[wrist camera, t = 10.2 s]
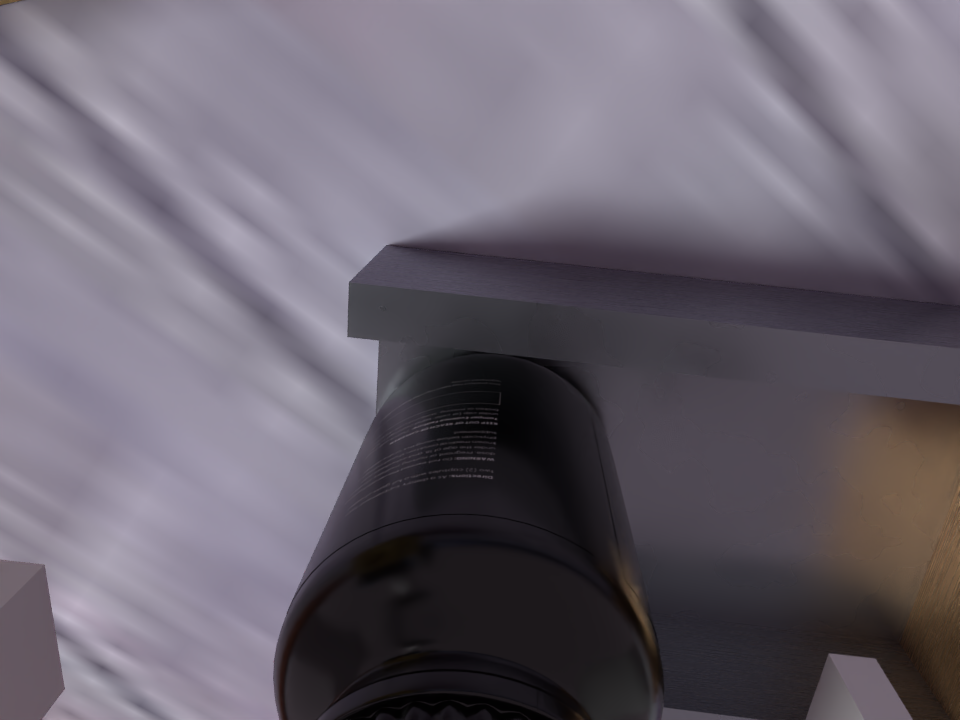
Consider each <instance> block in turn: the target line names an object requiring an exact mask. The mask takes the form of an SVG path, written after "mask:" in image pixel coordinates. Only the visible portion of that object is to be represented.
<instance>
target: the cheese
mask: <svg viewBox="0 0 960 720" xmlns="http://www.w3.org/2000/svg"><path fill="white" fill-rule="evenodd" d="M17 1H21V0H0V5H2V4H7V3H12V2H17Z"/></svg>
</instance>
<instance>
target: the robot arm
mask: <svg viewBox="0 0 960 720" xmlns="http://www.w3.org/2000/svg"><path fill="white" fill-rule="evenodd" d="M64 689H65V687H64V681H63V675H62V669H61V663H60V657H59V651H58V644H57V638H56V632H55V626H54V620H53V614H52V608H51V602H50V595H49V589H48V583H47V577H46V571H45V565H43V564H34V563H25V562H16V561H7V560H0V720H42V718H43V717H44V716H45V714H46V713H47V712H48V710H49V709H50V708H51V706H52V705H53V704H54V702H55V701H56V700H57V698H58V697H59V696H60V694H61V693H62V692H63V690H64ZM806 720H913V719H912V717H911V716H910V714H909V712H908V711H907V709H906V708H905V706H904V704H903V703H902V701H901V699H900V698H899V696H898V694H897V693H896V691H895V690H894V688H893V686H892V685H891V683H890V681H889V680H888V678H887V677H886V675H885V673H884V672H883V670H882V668H881V667H880V665H879V663H878V662H877V660H876V659H875V658H866V657H857V656H848V655H839V654H830V653H829V654H828V657H827V660H826V662H825V665H824V668H823V671H822V674H821V677H820V680H819V682H818V685H817V688H816V691H815V694H814V697H813V700H812V702H811V705H810V708H809V711H808V714H807V717H806Z"/></svg>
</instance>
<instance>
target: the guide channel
mask: <svg viewBox="0 0 960 720" xmlns="http://www.w3.org/2000/svg"><path fill="white" fill-rule="evenodd" d="M347 337H353V338H362V339H371V340H379V357H378V379H377V401H376V415H377V413H378V411H379V410H380V408H381V407H382V405H383V404H384V403H385V401H386V400H387V399H388V397H389V396H390V395H391V394H392V393H393V392H394V391H395V389H396V388H397V387H399V386H400V385H401V384H402V383H403V382H404V381H405V380H407V379H408V378H410V377H411V376H413V375H414V374H415V373H417V372H419V371H421V370H422V369H424V368H426V367H428V366H430V365H433V364H435V363H437V362H440V361H443V360H446V359H449V358H453V357H458V356H462V355H470V354H486V353H487V354H502V355H508V356H514V357H518V358H522V359H525V360H528V361H531V362H534V363H537V364H539V365H541V366H543V367H545V368H548V369H549V370H551V371H553V372H555V373H556V374H558V375H559V376H561V377H562V378H564V379H565V380H566V381H568V382H569V383H570V384H571V385H573V386H574V387H575V388H576V389H577V390H578V391H579V392H580V393H581V394H582V395H583V396H584V397H585V398H586V399H587V401H588V402H589V403H590V405H591V406H592V407H593V409H594V410H595V412H596V414H597V415H598V417H599V419H600V421H601V423H602V425H603V427H604V430H605V432H606V435H607V438H608V441H609V444H610V447H611V451H612V455H613V458H614V462H615V466H616V470H617V474H618V478H619V482H620V486H621V490H622V495H623V499H624V503H625V507H626V511H627V515H628V519H629V523H630V527H631V532H632V536H633V540H634V544H635V548H636V552H637V556H638V560H639V564H640V569H641V573H642V577H643V581H644V585H645V589H646V593H647V597H648V601H649V606H650V610H651V614H652V618H653V622H654V626H655V630H656V635H657V639H658V644H659V649H660V655H661V660H662V666H663V674H664V685H665V689H664V707H663V713H662V719H661V720H806V717H807V714H808V711H809V708H810V705H811V702H812V700H813V697H814V694H815V691H816V688H817V685H818V682H819V680H820V677H821V674H822V671H823V668H824V665H825V662H826V660H827V657H828V654H829V653H830V654H839V655H848V656H857V657H866V658H875V659H876V660H877V662H878V663H879V665H880V667H881V668H882V670H883V672H884V673H885V675H886V677H887V678H888V680H889V681H890V683H891V685H892V686H893V688H894V690H895V691H896V693H897V694H898V696H899V698H900V699H901V701H902V703H903V704H904V706H905V708H906V709H907V711H908V712H909V714H910V716H911V717H912V719H913V720H960V306H952V305H943V304H933V303H924V302H914V301H905V300H896V299H886V298H877V297H868V296H858V295H849V294H839V293H830V292H821V291H811V290H802V289H792V288H783V287H774V286H764V285H755V284H745V283H736V282H727V281H717V280H708V279H699V278H689V277H680V276H670V275H661V274H652V273H642V272H633V271H623V270H614V269H605V268H595V267H586V266H577V265H567V264H558V263H548V262H539V261H530V260H520V259H511V258H501V257H492V256H483V255H473V254H464V253H454V252H445V251H436V250H426V249H417V248H408V247H398V246H389V245H386V246H385V247H384V248H383V249H382V250H381V251H380V252H379V253H378V254H377V255H376V256H375V257H374V258H373V259H372V260H371V261H370V262H369V263H368V264H367V265H366V266H365V267H364V268H363V269H362V270H361V271H360V272H359V273H358V274H357V275H356V276H355V277H354V278H353V279H352V280H351V281H350V282H349V301H348V336H347Z"/></svg>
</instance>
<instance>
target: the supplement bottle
mask: <svg viewBox="0 0 960 720" xmlns="http://www.w3.org/2000/svg"><path fill="white" fill-rule="evenodd" d="M273 681H274V693H275V701H276V706H277V711H278V716H279V720H661V719H662V713H663V707H664V689H665V685H664V674H663V666H662V660H661V655H660V649H659V644H658V639H657V635H656V630H655V626H654V622H653V618H652V614H651V610H650V606H649V601H648V597H647V593H646V589H645V585H644V581H643V577H642V573H641V569H640V564H639V560H638V556H637V552H636V548H635V544H634V540H633V536H632V532H631V527H630V523H629V519H628V515H627V511H626V507H625V503H624V499H623V495H622V490H621V486H620V482H619V478H618V474H617V470H616V466H615V462H614V458H613V455H612V451H611V447H610V444H609V441H608V438H607V435H606V432H605V430H604V427H603V425H602V423H601V421H600V419H599V417H598V415H597V414H596V412H595V410H594V409H593V407H592V406H591V405H590V403H589V402H588V401H587V399H586V398H585V397H584V396H583V395H582V394H581V393H580V392H579V391H578V390H577V389H576V388H575V387H574V386H573V385H571V384H570V383H569V382H568V381H566V380H565V379H564V378H562V377H561V376H559V375H558V374H556V373H555V372H553V371H551V370H549V369H548V368H545V367H543V366H541V365H539V364H537V363H534V362H531V361H528V360H525V359H522V358H518V357H514V356H508V355H502V354H487V353H486V354H470V355H462V356H458V357H453V358H449V359H446V360H443V361H440V362H437V363H435V364H433V365H430V366H428V367H426V368H424V369H422V370H421V371H419V372H417V373H415V374H414V375H413V376H411V377H410V378H408V379H407V380H405V381H404V382H403V383H402V384H401V385H400V386H399V387H397V388H396V389H395V391H394V392H393V393H392V394H391V395H390V396H389V397H388V399H387V400H386V401H385V403H384V404H383V405H382V407H381V408H380V410H379V411H378V413H377V415H376V416H375V418H374V420H373V422H372V424H371V426H370V429H369V431H368V432H367V434H366V437H365V439H364V441H363V443H362V446H361V448H360V450H359V452H358V454H357V457H356V459H355V461H354V463H353V466H352V468H351V470H350V472H349V475H348V477H347V479H346V481H345V484H344V486H343V488H342V490H341V493H340V495H339V497H338V499H337V501H336V504H335V506H334V508H333V510H332V513H331V515H330V517H329V519H328V522H327V524H326V526H325V528H324V531H323V533H322V535H321V537H320V539H319V542H318V544H317V546H316V548H315V551H314V553H313V555H312V557H311V560H310V562H309V564H308V566H307V569H306V571H305V573H304V575H303V577H302V580H301V582H300V584H299V586H298V589H297V591H296V593H295V595H294V598H293V600H292V602H291V604H290V607H289V609H288V612H287V615H286V618H285V620H284V623H283V626H282V629H281V632H280V635H279V638H278V642H277V646H276V652H275V658H274V673H273Z"/></svg>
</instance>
